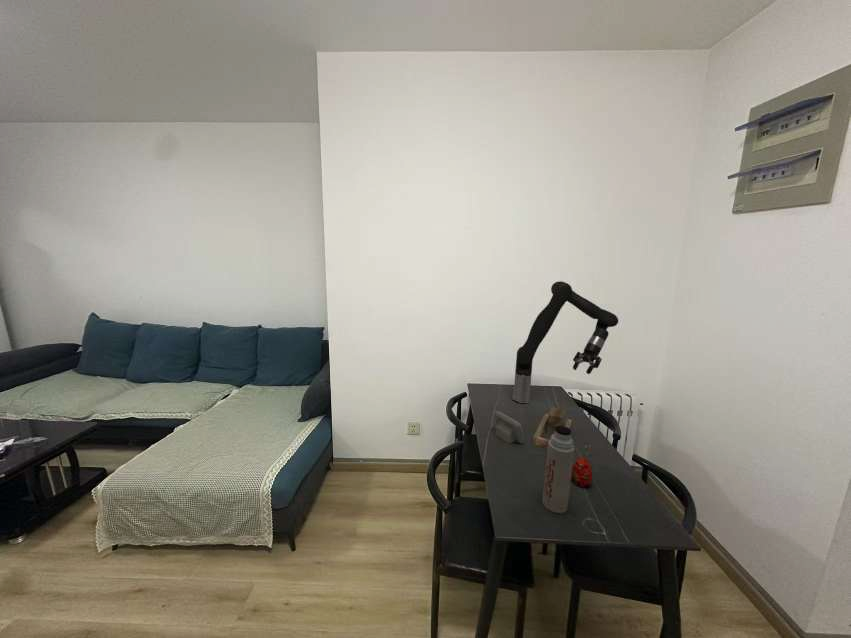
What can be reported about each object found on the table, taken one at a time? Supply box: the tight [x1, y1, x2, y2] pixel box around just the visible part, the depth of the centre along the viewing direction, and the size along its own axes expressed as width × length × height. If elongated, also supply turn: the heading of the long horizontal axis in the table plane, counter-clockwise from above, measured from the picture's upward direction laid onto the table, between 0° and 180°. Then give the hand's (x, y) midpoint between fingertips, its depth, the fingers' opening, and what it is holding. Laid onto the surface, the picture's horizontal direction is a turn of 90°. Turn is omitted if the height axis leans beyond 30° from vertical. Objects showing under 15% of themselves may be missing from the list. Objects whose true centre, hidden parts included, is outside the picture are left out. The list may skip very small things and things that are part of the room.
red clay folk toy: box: [571, 444, 593, 488], centre depth 120 cm, size 8×7×15 cm
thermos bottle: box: [542, 425, 575, 514], centre depth 107 cm, size 8×8×28 cm
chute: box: [532, 413, 573, 450], centre depth 154 cm, size 13×28×4 cm, turn 150°
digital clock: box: [494, 410, 525, 445], centre depth 150 cm, size 16×9×11 cm, turn 20°
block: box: [546, 406, 566, 434], centre depth 159 cm, size 6×10×9 cm, turn 150°
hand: (580, 371), depth 172 cm, fingers open, 8 cm apart
